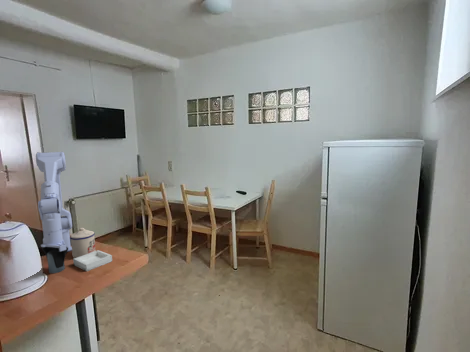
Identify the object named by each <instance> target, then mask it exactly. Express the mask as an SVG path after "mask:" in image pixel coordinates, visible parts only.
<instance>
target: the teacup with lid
mask: <svg viewBox="0 0 470 352" xmlns="http://www.w3.org/2000/svg"><path fill="white" fill-rule="evenodd" d="M70 244H71V247H72V250H71V253H72V257H73V259H74V258H77V257H80V256H83V255H86V254H89V253H91V252H94V251H97V250H96V241H95V231H93V230H88V229H85V227H80V228H79V230H77V231H76V232H73V233H71V234H70Z"/></svg>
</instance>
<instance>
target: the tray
mask: <svg viewBox="0 0 470 352" xmlns="http://www.w3.org/2000/svg"><path fill="white" fill-rule="evenodd" d="M72 260H73V266H75V267H77V268H79V269H81V270H83V271H84V272H89V271H91V270H94V269H96V268H99V267H101V266H104V265H106V264H109V263H111V262H113V255H112V254H110V253H107V252H104V251H102V250H98V249H97V250H96V251H94V252H91V253H89V254H86V255H83V256H80V257H77V258H74V257H73V258H72Z"/></svg>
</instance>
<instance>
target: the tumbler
mask: <svg viewBox="0 0 470 352" xmlns="http://www.w3.org/2000/svg"><path fill="white" fill-rule="evenodd" d="M46 259H47V266H48V267H47V268H48V273H49V274H57V273H60V272H63V271H64V270H65V269H66V265H65V264H64V265H63V266H62V267H60V268H56V266H55V262H54V259H53V257H52V255H51V254H50V253H49V252H48V253H47V256H46Z"/></svg>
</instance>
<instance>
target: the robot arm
mask: <svg viewBox="0 0 470 352" xmlns="http://www.w3.org/2000/svg"><path fill="white" fill-rule="evenodd" d="M65 155H66V154H65V152H64V151H51V152H49V151H48V152H37V153H36V154H35V163H36V166H37V168H38V170H39V171H40V172H42V173H43V176H44V177H43V178H44V182H42V183H41V186H40V200H38V203H37V204H38V205H37V208H38V209H37V210H38V213H39V216H40V221H41V224H42V225H41V227H42V233H43V238H42V244H40V249H41V250H42V252H43V253H44V255H45V256H46V257H47V253H48V252H49V253H50V254H51V255H52V257H53V259H54V262H55V266H56V268H60V267H62V266H63V265H65V259H66V256H67V255H66V254H67V252H72V245H71V239H70V236H71V234H70V230H72V229H73V220H72V214H71V211H69V210H67V209H65V208H64V207H63V206H64V205H63V194H62V183H61V175H62V172H64V171H66V169H67V164H66V162H67V161H66V156H65Z"/></svg>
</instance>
